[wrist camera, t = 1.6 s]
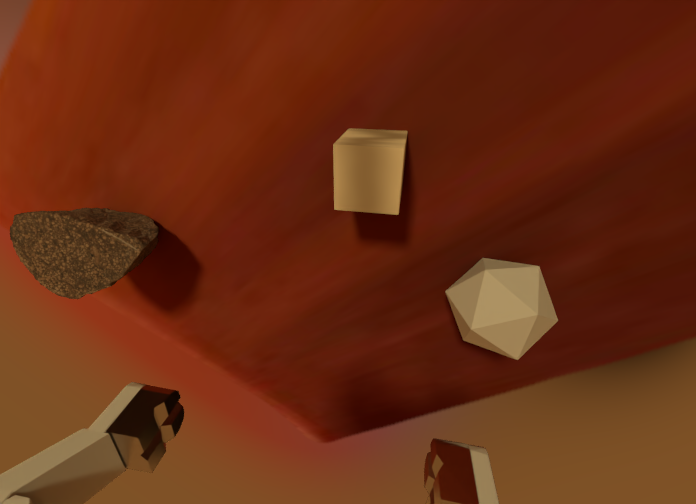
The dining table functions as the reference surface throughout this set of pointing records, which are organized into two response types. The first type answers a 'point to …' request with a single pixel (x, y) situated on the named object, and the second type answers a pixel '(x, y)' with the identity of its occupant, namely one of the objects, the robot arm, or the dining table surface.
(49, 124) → the dining table surface
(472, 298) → the die
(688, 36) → the dining table surface
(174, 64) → the dining table surface
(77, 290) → the rock
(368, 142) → the beech block
